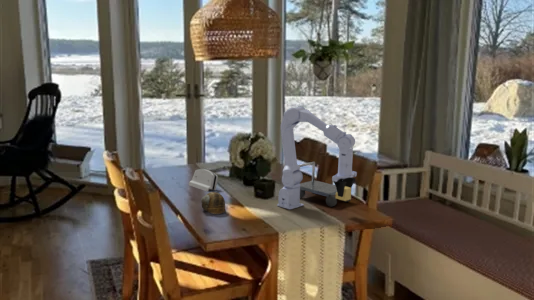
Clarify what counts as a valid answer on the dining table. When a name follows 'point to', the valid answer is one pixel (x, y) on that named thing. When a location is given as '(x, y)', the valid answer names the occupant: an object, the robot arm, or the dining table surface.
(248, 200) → the dining table surface
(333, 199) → the trolley
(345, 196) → the yellow cube-like block
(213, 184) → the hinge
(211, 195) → the seashell
